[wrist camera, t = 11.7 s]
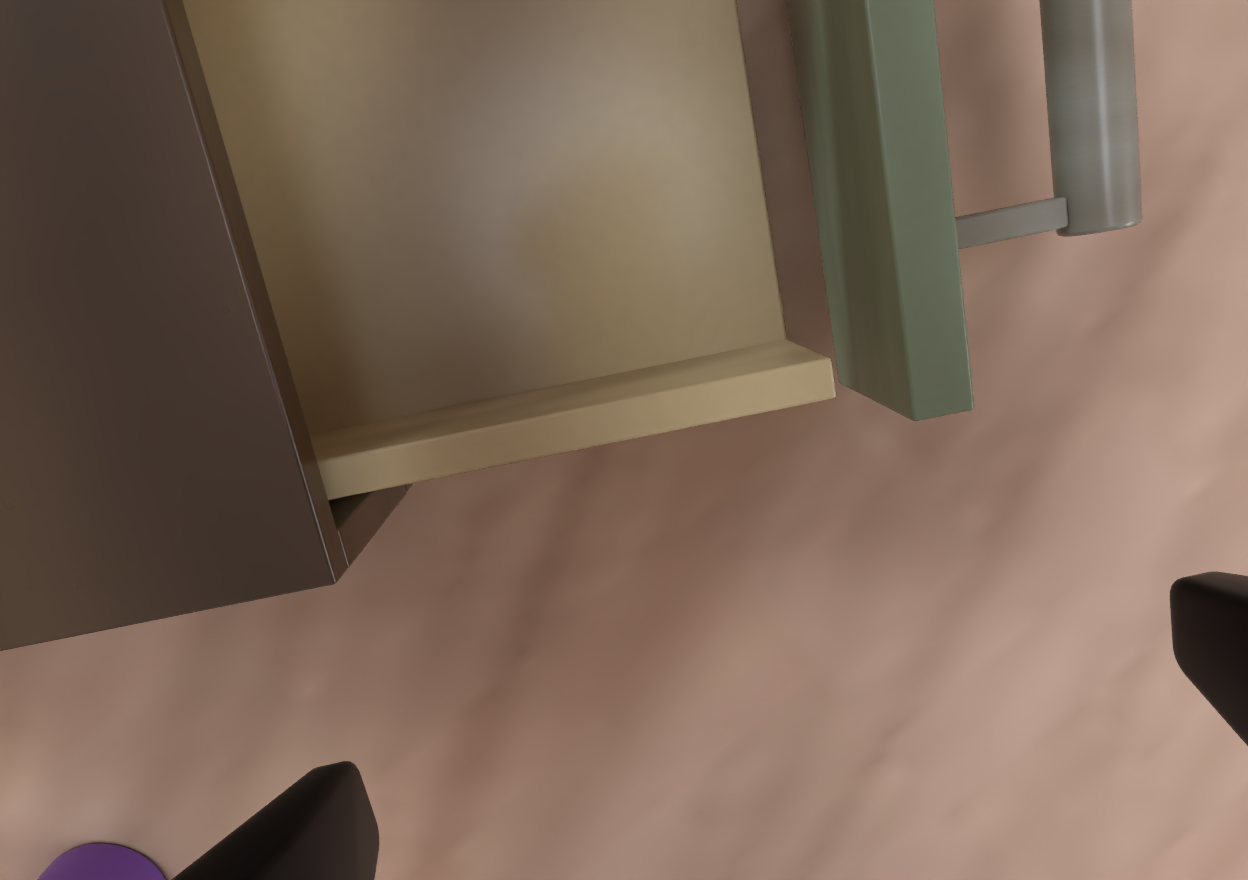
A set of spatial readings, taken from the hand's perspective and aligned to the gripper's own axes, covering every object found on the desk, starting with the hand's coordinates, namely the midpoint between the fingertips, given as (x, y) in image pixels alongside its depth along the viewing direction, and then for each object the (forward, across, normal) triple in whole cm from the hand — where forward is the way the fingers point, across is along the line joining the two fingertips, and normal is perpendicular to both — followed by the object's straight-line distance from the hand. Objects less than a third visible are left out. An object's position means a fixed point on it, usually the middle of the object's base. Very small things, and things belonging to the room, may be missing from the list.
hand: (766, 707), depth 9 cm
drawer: (+12, -1, -7) cm, 14 cm away
